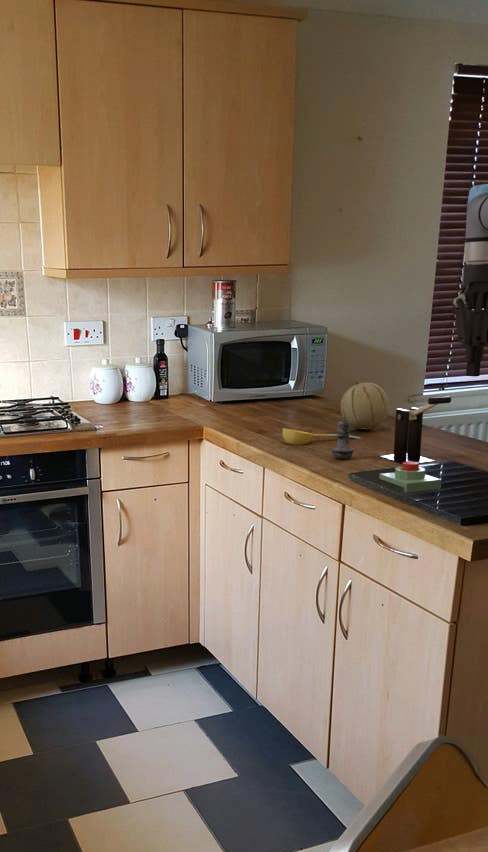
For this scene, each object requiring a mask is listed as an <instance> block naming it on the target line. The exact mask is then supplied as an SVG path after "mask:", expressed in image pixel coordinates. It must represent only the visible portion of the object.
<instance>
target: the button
mask: <svg viewBox="0 0 488 852" xmlns="http://www.w3.org/2000/svg"><path fill="white" fill-rule="evenodd" d="M401 465H402V470H406V471H417V470H419V467H420V464H419V463H418V462H412V461H407V462H403V464H401Z"/></svg>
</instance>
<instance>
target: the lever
mask: <svg viewBox="0 0 488 852" xmlns="http://www.w3.org/2000/svg"><path fill="white" fill-rule="evenodd" d="M451 402H452V397H451V396H449V395H448V396H437V397H429V398H428V399H427V404H424V405H422V406H421V407H419V408H418V409H417V410H410V409H407V410H408V411H410V412H409V422H412V421H414V420H416V419H417V417H416V415H418V414H420V413H422V412H423V413H424V412H426V411H428V410H430V409H432V408H434V407H436V406H437V405H442V404H450V403H451Z"/></svg>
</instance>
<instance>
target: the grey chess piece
mask: <svg viewBox="0 0 488 852" xmlns="http://www.w3.org/2000/svg"><path fill="white" fill-rule="evenodd" d="M336 435H337V436H336V437H337V438H336V445H335V446H334V447H332V448H331V449H330V450H331V451H332V456H333V457H334V458H335V459H337V460H340V461H341V460H343V461H344V460H345V461H346V460H348V459H350V458H352V456H353V454H354V451H355V448H353V447H351V446H350V438H349V436H351V433H350V426H349V422H348V421H347V420H345V417H343V416H342V419H341V420H339V421H338V423H337V433H336Z"/></svg>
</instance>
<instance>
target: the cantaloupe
mask: <svg viewBox="0 0 488 852" xmlns="http://www.w3.org/2000/svg"><path fill="white" fill-rule="evenodd" d="M354 384H355V385H352V386H351V387H349V388H348V389H347V390H346V391H345V393H343V396H342V398H341V401H340V413H341V417H342V418H343V417H345V420H347V421H348V422H349V427H351V428H352V427H354V428H353V429H355V428H366V429H369V428H372V429H374V428H375V427H378V426H379V425H381V424H382V423H383V422H384V421H385V420H386V418H387V417H388V415H389V412H390V401H389V397H388V396H387V393H386V392H385V390H384V389H383V388H382V387H381V386H379V385H378V384H375V383H374V382H360V381H359V380H356V381H354Z"/></svg>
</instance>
